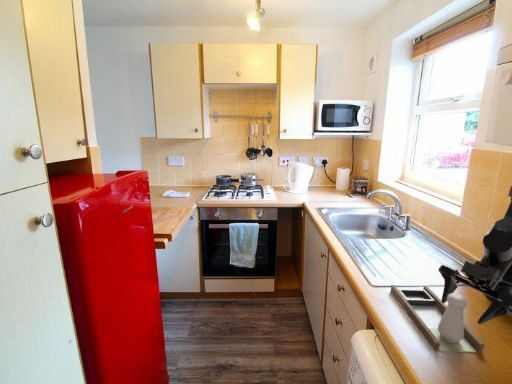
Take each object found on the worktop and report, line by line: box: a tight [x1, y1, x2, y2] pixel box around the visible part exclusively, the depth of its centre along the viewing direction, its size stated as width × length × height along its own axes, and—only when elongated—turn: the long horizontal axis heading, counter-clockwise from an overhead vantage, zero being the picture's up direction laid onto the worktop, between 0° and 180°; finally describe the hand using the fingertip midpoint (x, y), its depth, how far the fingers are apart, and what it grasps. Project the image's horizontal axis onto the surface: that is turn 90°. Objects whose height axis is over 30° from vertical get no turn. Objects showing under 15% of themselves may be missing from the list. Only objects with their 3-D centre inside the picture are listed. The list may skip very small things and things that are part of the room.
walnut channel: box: [390, 284, 485, 354], centre depth 84 cm, size 12×26×2 cm, turn 178°
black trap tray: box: [397, 288, 435, 307], centre depth 92 cm, size 9×6×2 cm, turn 88°
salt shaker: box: [437, 292, 468, 344], centre depth 74 cm, size 6×6×13 cm
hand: (459, 312), depth 75 cm, fingers open, 9 cm apart
